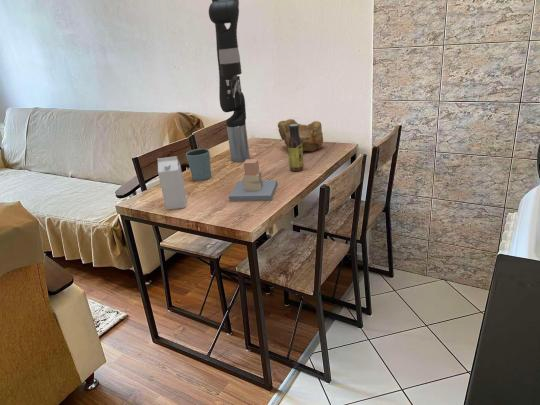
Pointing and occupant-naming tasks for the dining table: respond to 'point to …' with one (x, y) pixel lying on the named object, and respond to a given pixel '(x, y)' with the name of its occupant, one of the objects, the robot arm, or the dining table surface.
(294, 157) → the sauce bottle
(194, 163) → the teal cup
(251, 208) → the dining table surface
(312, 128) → the rough brown rock
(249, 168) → the terracotta block
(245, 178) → the beech cube
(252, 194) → the base board
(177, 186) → the milk carton
